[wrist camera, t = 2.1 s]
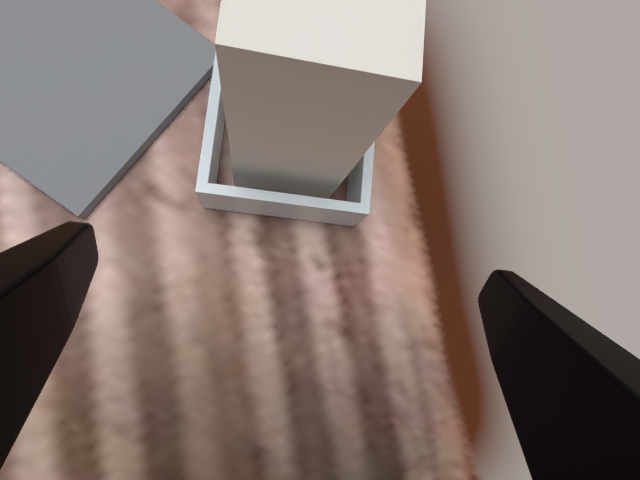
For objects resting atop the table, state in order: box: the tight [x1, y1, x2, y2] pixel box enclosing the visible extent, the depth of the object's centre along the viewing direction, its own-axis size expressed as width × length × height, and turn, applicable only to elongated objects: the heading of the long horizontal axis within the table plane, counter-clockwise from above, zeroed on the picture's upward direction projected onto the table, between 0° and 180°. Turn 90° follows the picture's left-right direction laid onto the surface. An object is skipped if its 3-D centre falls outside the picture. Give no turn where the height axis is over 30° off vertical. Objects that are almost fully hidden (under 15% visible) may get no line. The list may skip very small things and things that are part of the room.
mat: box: [0, 0, 216, 219], centre depth 22 cm, size 12×12×1 cm
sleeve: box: [195, 52, 375, 226], centre depth 22 cm, size 8×8×4 cm
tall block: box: [215, 0, 426, 198], centre depth 17 cm, size 6×6×13 cm
